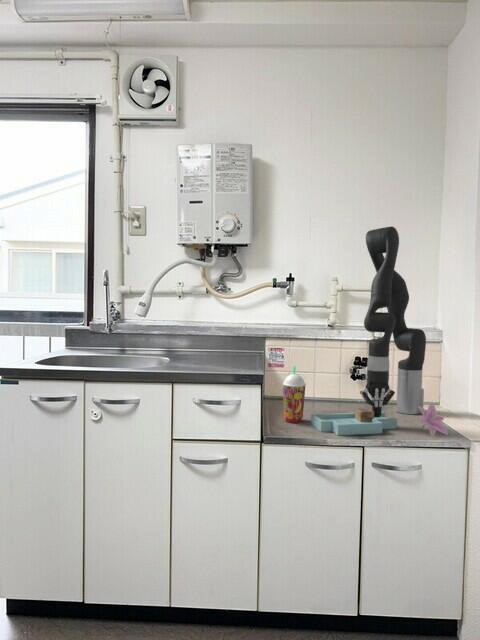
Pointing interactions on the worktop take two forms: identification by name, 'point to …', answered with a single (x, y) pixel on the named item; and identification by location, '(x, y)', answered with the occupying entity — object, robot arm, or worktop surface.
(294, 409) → the smoothie
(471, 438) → the worktop surface
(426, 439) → the worktop surface
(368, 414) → the walnut block
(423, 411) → the lily
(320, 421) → the box
